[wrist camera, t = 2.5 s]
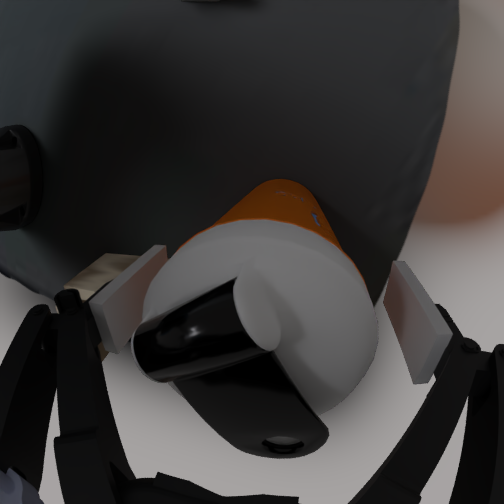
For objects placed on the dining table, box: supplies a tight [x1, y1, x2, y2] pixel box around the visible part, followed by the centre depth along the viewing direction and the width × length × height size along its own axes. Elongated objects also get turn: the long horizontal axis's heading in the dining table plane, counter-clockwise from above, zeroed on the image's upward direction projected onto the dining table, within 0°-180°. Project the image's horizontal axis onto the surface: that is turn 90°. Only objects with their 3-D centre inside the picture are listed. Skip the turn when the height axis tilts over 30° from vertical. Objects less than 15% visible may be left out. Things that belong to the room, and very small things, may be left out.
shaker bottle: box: [131, 179, 378, 459], centre depth 16 cm, size 9×9×20 cm
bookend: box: [56, 253, 170, 361], centre depth 26 cm, size 14×10×10 cm
